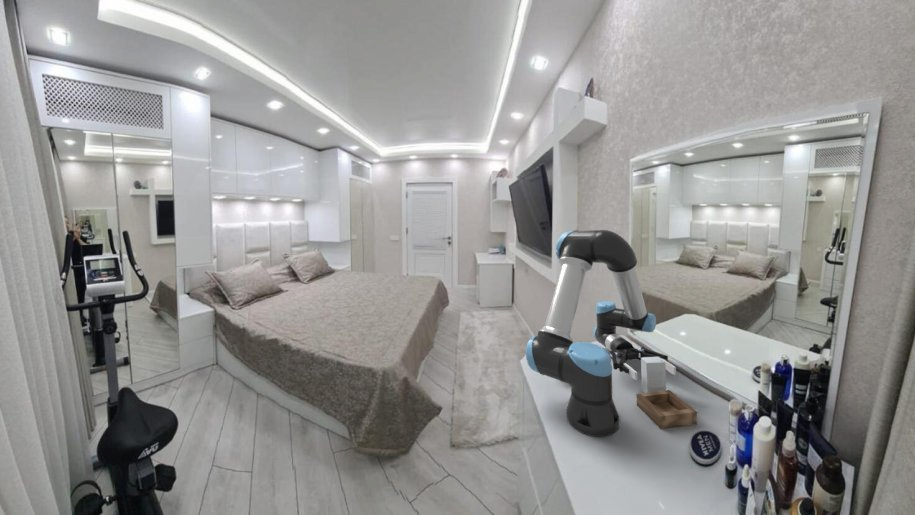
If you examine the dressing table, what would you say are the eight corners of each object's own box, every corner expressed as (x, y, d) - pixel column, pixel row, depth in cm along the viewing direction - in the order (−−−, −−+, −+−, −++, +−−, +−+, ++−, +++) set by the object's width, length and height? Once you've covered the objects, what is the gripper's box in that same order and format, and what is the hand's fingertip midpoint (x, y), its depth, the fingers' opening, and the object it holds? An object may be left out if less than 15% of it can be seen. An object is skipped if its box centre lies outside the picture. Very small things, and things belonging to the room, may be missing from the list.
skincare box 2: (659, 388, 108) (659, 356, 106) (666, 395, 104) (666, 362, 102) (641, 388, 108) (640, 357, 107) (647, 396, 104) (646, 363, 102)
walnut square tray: (660, 428, 89) (660, 416, 89) (636, 405, 100) (636, 394, 100) (696, 424, 90) (697, 411, 89) (669, 401, 101) (669, 389, 100)
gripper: (649, 351, 126) (690, 379, 105) (589, 359, 125) (620, 388, 104) (648, 334, 125) (690, 358, 104) (589, 341, 124) (619, 368, 103)
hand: (655, 373), depth 104 cm, fingers open, 13 cm apart
